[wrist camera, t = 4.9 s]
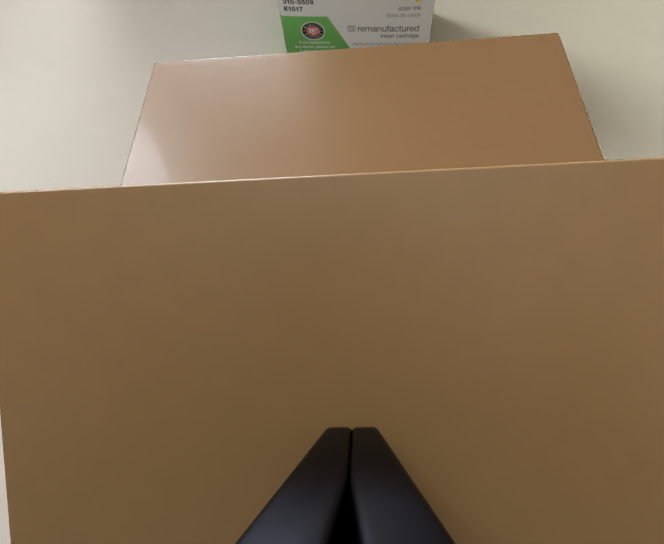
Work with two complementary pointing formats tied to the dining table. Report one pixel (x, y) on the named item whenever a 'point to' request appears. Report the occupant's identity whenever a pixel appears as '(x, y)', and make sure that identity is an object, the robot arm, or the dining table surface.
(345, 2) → the ink box
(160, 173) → the carton
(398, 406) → the flap
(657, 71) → the dining table surface
